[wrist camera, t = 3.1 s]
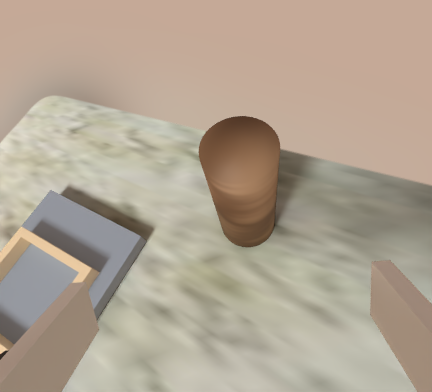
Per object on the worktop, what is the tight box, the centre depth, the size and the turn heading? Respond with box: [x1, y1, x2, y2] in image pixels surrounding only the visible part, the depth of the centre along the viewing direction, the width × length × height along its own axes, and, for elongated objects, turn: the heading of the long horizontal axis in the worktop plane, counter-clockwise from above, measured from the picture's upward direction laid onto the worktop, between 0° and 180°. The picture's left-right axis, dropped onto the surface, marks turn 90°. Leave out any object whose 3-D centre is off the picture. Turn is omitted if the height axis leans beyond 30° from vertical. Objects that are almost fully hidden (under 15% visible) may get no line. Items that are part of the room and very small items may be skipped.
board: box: [0, 190, 146, 354], centre depth 28 cm, size 12×18×3 cm, turn 152°
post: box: [199, 116, 280, 247], centre depth 24 cm, size 5×5×12 cm
